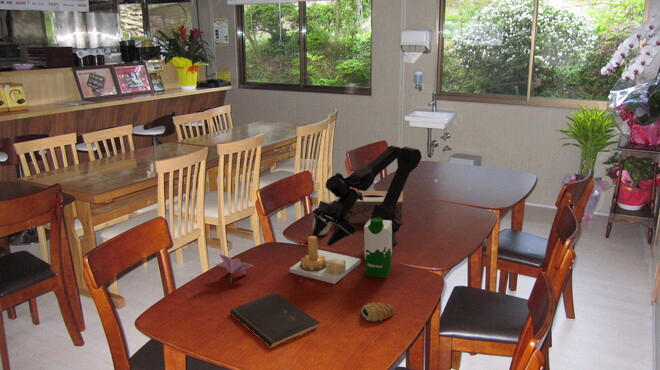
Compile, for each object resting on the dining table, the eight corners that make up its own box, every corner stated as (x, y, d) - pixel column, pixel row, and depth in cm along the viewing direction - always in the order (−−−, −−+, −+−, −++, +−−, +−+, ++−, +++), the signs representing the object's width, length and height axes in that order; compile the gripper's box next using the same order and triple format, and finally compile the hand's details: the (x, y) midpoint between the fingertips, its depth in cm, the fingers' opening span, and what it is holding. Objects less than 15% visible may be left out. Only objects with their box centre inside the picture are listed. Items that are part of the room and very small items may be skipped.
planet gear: (327, 259, 190) (326, 233, 187) (324, 270, 182) (323, 243, 179) (304, 258, 191) (302, 232, 188) (299, 269, 183) (297, 242, 180)
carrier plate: (361, 263, 191) (361, 251, 189) (335, 284, 176) (335, 271, 175) (317, 253, 200) (317, 242, 199) (289, 272, 185) (289, 260, 184)
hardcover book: (276, 298, 169) (275, 292, 169) (319, 329, 152) (319, 322, 151) (230, 316, 160) (229, 309, 159) (271, 350, 142) (270, 343, 142)
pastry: (387, 306, 162) (387, 295, 161) (398, 317, 156) (398, 305, 155) (359, 313, 158) (359, 302, 157) (369, 325, 152) (369, 313, 151)
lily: (258, 283, 180) (258, 255, 183) (231, 283, 172) (231, 252, 174) (234, 285, 188) (235, 257, 190) (207, 284, 179) (208, 255, 181)
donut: (317, 239, 212) (316, 216, 209) (311, 237, 214) (310, 214, 211) (333, 231, 220) (332, 208, 217) (326, 230, 222) (326, 207, 219)
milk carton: (362, 276, 180) (361, 221, 175) (369, 265, 189) (368, 211, 183) (388, 280, 178) (388, 223, 172) (394, 268, 186) (394, 213, 180)
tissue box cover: (341, 223, 229) (340, 201, 227) (345, 211, 243) (344, 190, 240) (402, 224, 226) (402, 202, 223) (402, 212, 239) (403, 191, 237)
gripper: (315, 186, 191) (291, 222, 189) (347, 198, 177) (321, 238, 174) (334, 202, 198) (311, 237, 195) (366, 215, 183) (342, 254, 181)
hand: (320, 241), depth 186 cm, fingers open, 9 cm apart
